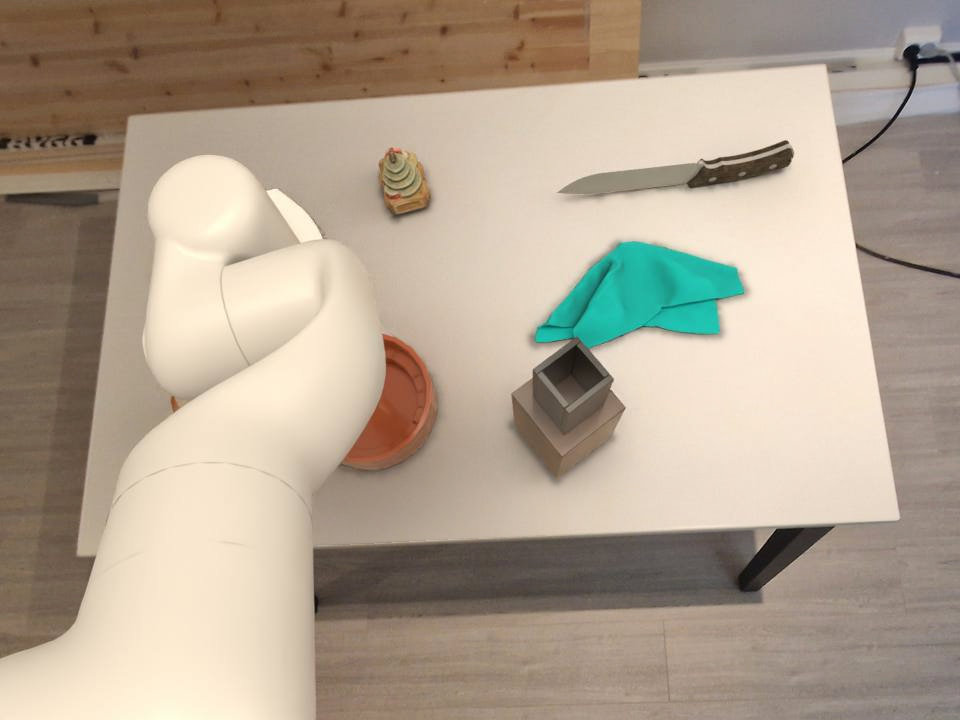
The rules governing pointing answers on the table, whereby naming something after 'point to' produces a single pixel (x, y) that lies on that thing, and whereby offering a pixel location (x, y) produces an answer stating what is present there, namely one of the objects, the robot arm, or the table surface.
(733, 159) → the knife
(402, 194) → the ornament
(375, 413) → the bowl
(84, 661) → the robot arm
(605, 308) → the cloth
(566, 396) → the utensil stand
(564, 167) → the table surface
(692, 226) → the table surface
